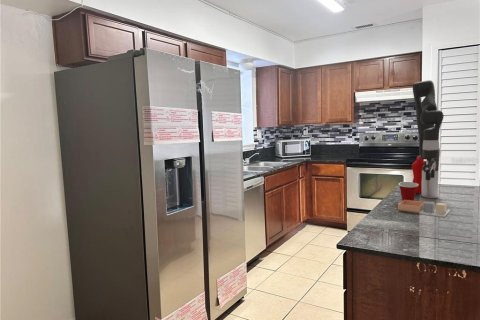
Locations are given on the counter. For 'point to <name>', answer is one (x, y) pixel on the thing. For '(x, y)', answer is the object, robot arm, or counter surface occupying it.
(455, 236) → the counter surface
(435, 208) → the tray
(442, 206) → the beige wooden cube
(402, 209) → the dish
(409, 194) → the plastic cup
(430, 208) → the grey stacked cube
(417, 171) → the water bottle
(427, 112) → the robot arm
